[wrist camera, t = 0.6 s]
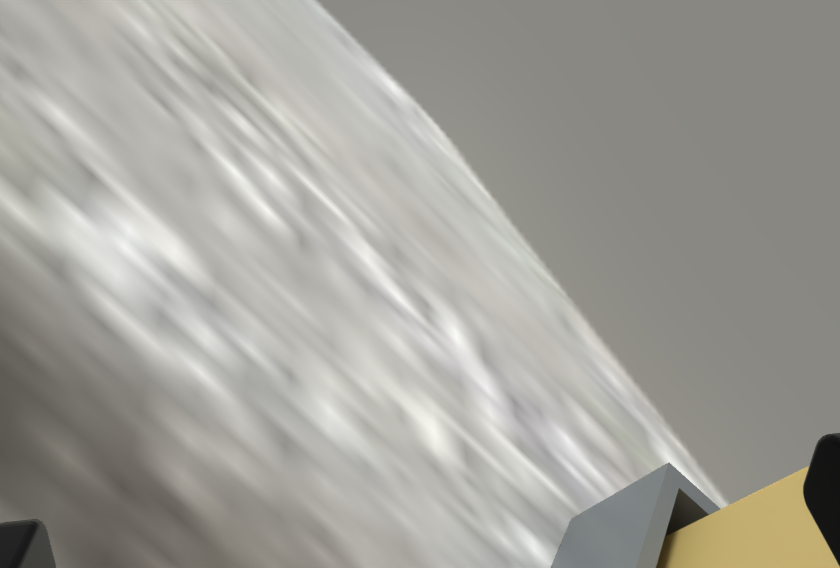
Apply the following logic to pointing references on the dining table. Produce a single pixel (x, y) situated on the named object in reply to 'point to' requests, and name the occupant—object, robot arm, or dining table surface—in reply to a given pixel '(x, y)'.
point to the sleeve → (633, 523)
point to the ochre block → (753, 534)
